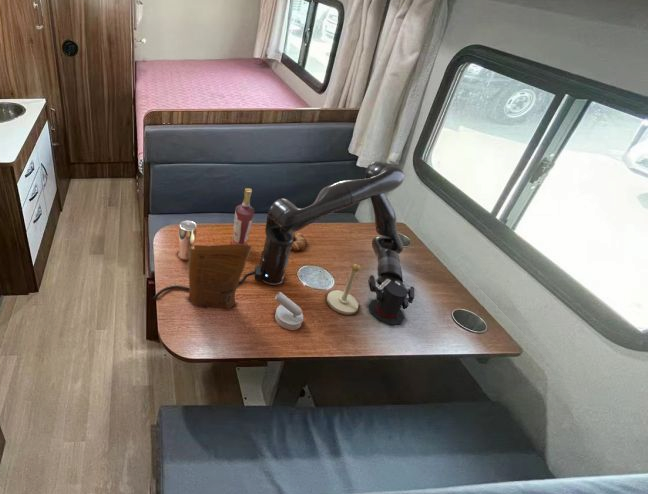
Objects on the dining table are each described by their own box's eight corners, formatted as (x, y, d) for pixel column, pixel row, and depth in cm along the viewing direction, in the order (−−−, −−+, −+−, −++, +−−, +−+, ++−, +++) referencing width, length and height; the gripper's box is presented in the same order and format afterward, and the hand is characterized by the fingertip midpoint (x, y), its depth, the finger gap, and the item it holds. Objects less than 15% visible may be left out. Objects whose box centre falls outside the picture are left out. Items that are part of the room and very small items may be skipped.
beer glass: (197, 253, 159) (200, 223, 151) (189, 263, 154) (192, 233, 146) (182, 247, 162) (184, 218, 154) (174, 256, 157) (175, 227, 149)
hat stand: (329, 311, 134) (344, 273, 125) (324, 290, 143) (337, 252, 133) (360, 316, 133) (377, 278, 123) (353, 295, 141) (369, 257, 132)
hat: (373, 322, 131) (384, 299, 125) (365, 297, 140) (374, 275, 134) (408, 328, 129) (420, 305, 123) (397, 302, 138) (408, 280, 133)
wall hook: (280, 283, 132) (310, 296, 128) (275, 303, 137) (304, 315, 133) (272, 300, 126) (304, 313, 121) (267, 320, 131) (298, 334, 126)
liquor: (249, 252, 160) (260, 195, 145) (231, 252, 160) (240, 195, 145) (245, 241, 166) (255, 185, 152) (228, 240, 166) (237, 184, 152)
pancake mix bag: (240, 314, 133) (252, 251, 118) (184, 308, 135) (189, 245, 120) (238, 298, 139) (250, 237, 124) (184, 293, 141) (190, 232, 126)
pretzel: (291, 255, 159) (293, 248, 157) (271, 240, 167) (273, 233, 165) (311, 246, 164) (313, 239, 162) (291, 232, 172) (293, 225, 170)
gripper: (370, 258, 143) (372, 288, 130) (416, 270, 138) (422, 303, 125) (364, 273, 147) (365, 304, 134) (408, 285, 142) (413, 319, 129)
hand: (392, 303), depth 129 cm, fingers closed on hat, 6 cm apart
